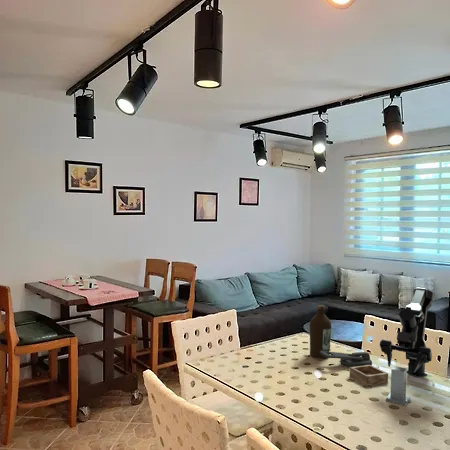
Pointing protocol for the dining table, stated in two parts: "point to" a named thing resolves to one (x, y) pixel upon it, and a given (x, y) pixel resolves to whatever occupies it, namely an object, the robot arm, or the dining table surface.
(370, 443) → the dining table surface
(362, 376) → the well
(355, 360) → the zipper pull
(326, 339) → the olive oil
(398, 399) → the bracket post
